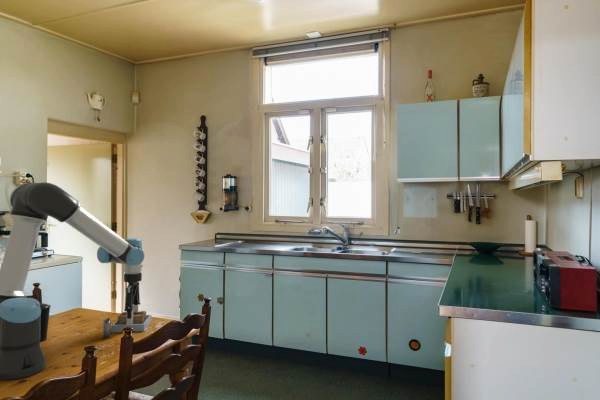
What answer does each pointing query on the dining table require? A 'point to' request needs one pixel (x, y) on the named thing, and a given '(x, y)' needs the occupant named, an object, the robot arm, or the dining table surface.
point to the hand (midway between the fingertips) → (132, 322)
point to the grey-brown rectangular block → (137, 318)
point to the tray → (132, 325)
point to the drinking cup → (43, 319)
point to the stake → (107, 328)
